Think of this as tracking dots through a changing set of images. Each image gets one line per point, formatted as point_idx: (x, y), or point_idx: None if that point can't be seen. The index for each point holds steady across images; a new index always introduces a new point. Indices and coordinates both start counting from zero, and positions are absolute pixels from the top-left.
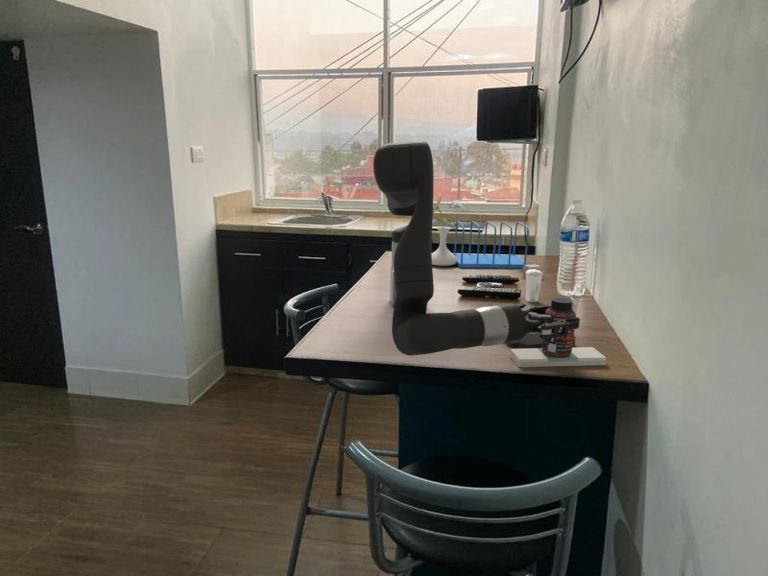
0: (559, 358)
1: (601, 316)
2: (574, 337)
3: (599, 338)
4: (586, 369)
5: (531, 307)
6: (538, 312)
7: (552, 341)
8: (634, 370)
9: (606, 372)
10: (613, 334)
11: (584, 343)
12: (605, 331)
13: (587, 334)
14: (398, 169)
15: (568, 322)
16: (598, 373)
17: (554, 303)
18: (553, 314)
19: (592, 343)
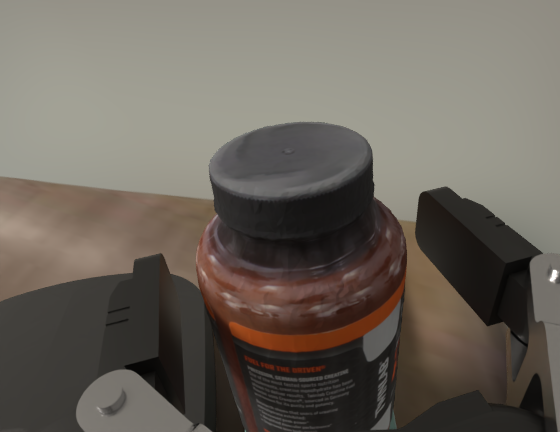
0: (393, 419)
1: (28, 181)
2: (175, 277)
3: (156, 224)
4: (414, 339)
5: (206, 429)
6: (171, 365)
7: (380, 410)
8: (401, 226)
9: (432, 290)
10: (145, 194)
11: (175, 266)
12: (118, 201)
13: (114, 238)
14: None
15: (541, 253)
16: (448, 315)
17: (322, 209)
18: (371, 288)
19: (184, 248)
